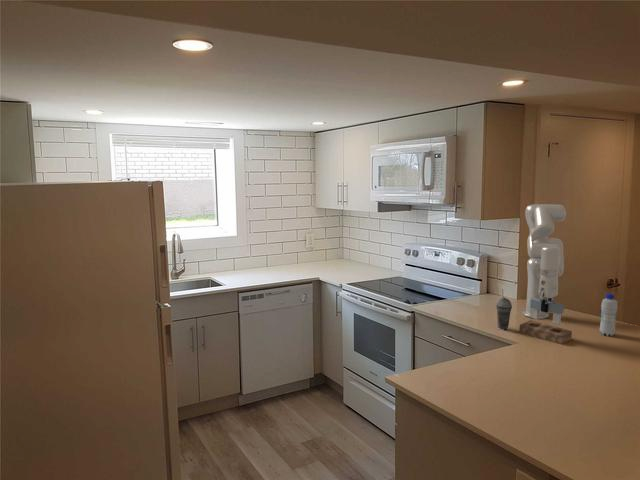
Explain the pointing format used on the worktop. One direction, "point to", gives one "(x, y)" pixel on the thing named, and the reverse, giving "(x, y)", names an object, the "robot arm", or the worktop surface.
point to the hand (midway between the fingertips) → (546, 310)
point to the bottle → (608, 315)
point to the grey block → (552, 307)
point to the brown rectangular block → (545, 332)
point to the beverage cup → (503, 312)
